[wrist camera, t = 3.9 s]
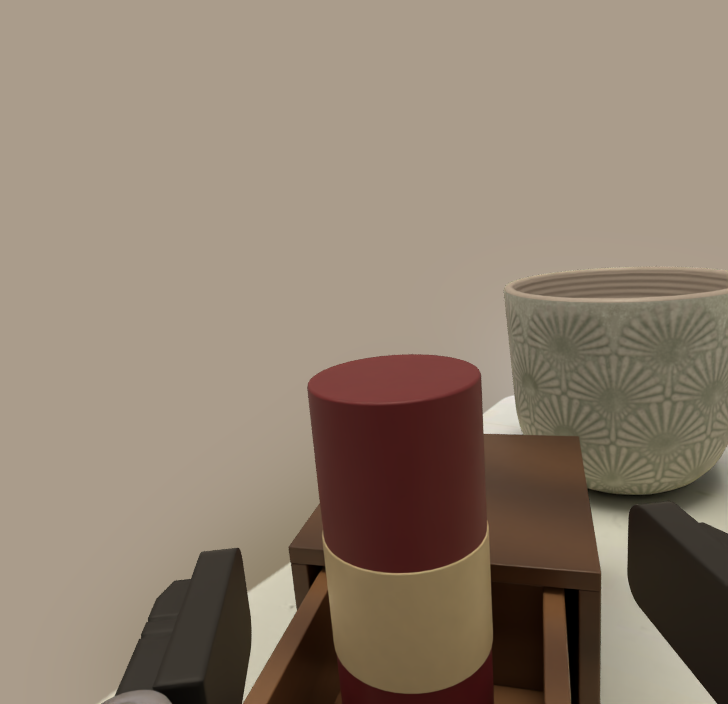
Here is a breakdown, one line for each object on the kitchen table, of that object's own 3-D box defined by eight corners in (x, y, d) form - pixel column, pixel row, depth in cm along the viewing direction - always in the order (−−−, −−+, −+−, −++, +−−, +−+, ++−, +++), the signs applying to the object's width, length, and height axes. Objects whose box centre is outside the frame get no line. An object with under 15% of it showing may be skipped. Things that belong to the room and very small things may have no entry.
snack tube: (493, 871, 18) (473, 404, 15) (329, 834, 20) (276, 402, 16) (503, 727, 23) (489, 352, 20) (371, 706, 25) (337, 354, 21)
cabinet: (599, 751, 24) (601, 573, 22) (307, 703, 28) (287, 546, 26) (579, 559, 37) (578, 435, 35) (380, 543, 40) (370, 430, 38)
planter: (539, 422, 59) (536, 268, 56) (741, 444, 51) (753, 263, 47) (479, 498, 45) (471, 299, 42) (744, 546, 37) (762, 300, 33)
